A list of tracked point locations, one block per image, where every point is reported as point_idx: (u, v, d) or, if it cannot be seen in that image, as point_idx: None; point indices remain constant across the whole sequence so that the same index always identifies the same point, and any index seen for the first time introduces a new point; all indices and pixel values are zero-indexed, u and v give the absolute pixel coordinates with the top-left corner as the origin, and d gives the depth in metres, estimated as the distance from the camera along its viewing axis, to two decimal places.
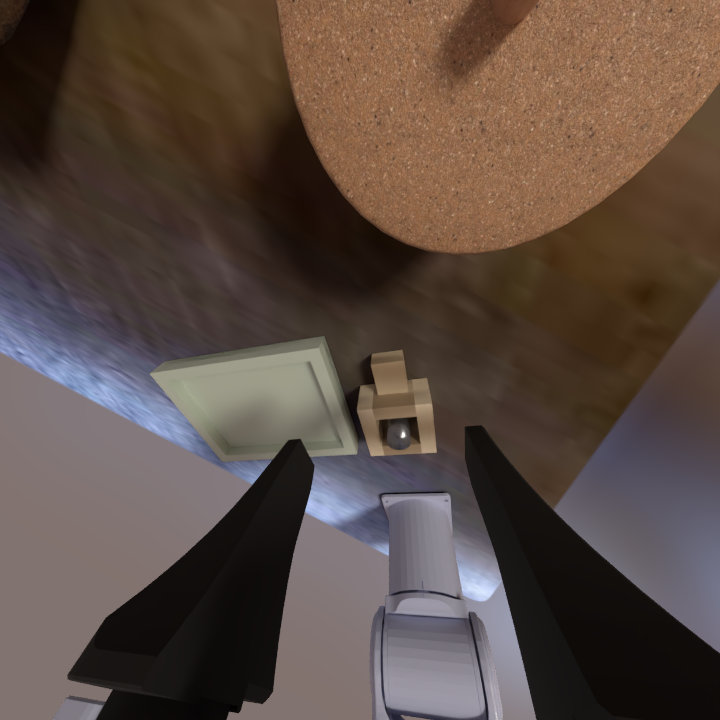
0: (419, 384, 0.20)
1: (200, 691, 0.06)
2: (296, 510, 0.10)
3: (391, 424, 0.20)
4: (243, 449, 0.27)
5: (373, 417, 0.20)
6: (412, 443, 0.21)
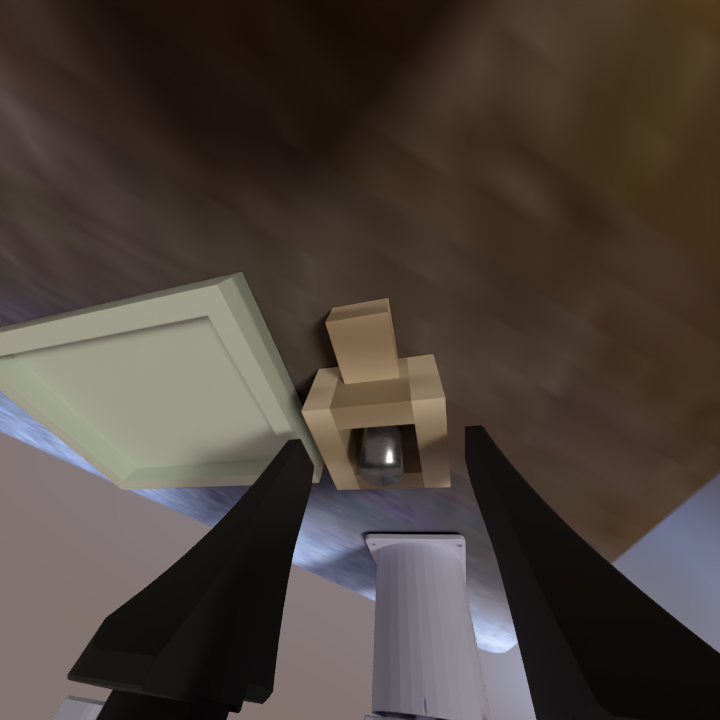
0: (419, 364, 0.11)
1: (200, 691, 0.06)
2: (295, 510, 0.10)
3: (368, 437, 0.11)
4: (151, 471, 0.17)
5: (334, 424, 0.10)
6: (407, 471, 0.12)
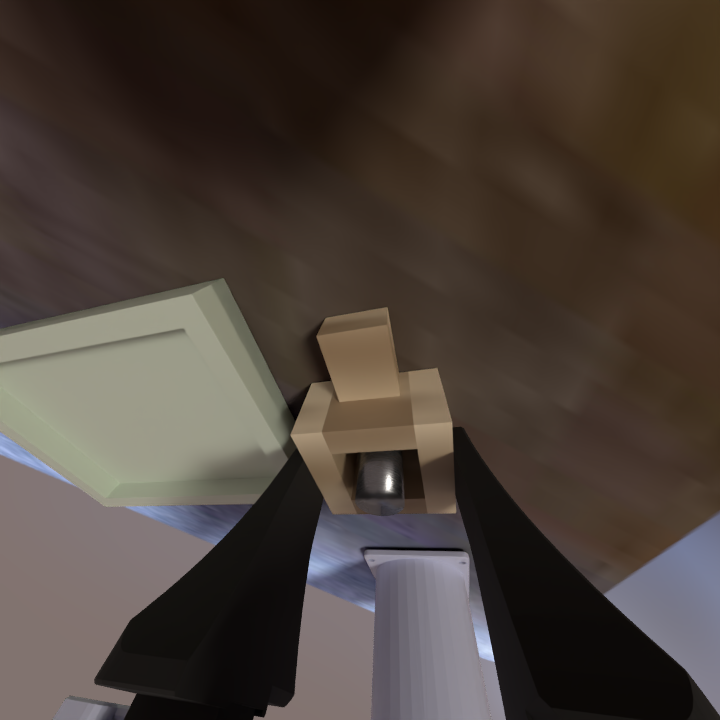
0: (422, 379, 0.10)
1: (228, 695, 0.05)
2: (312, 510, 0.10)
3: (365, 461, 0.10)
4: (135, 488, 0.16)
5: (327, 448, 0.09)
6: (409, 496, 0.11)
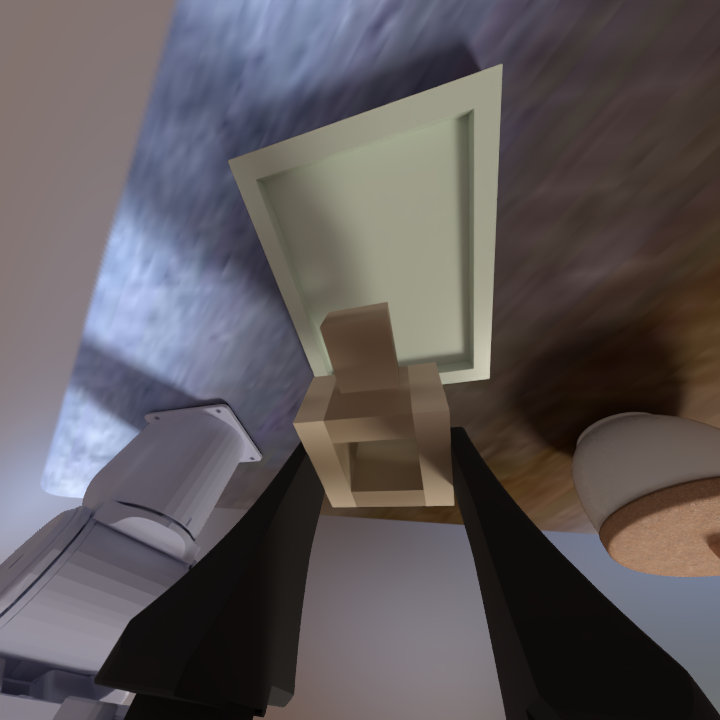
0: (421, 372, 0.10)
1: (228, 695, 0.05)
2: (312, 510, 0.10)
3: None
4: (275, 219, 0.14)
5: (328, 437, 0.10)
6: (408, 488, 0.11)
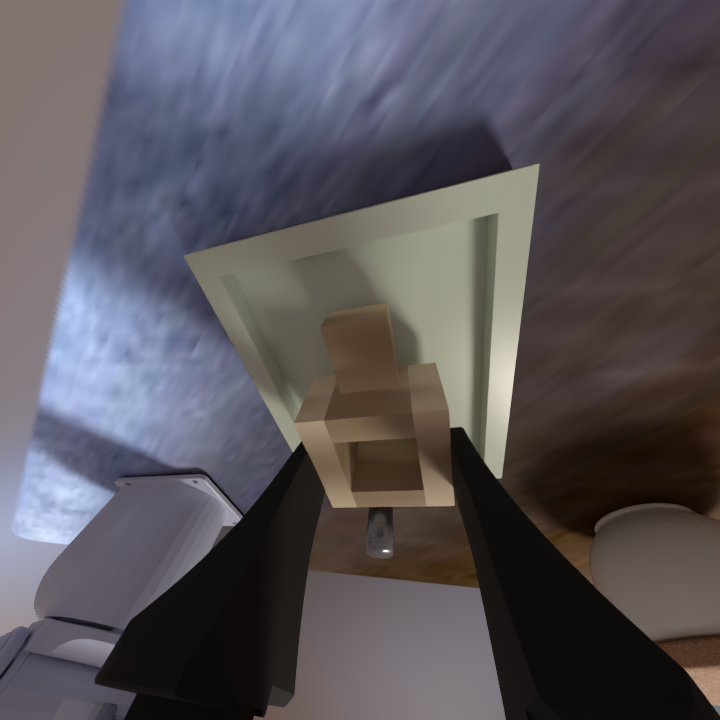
0: (421, 372, 0.10)
1: (228, 695, 0.05)
2: (312, 509, 0.10)
3: (389, 529, 0.18)
4: (248, 313, 0.11)
5: (328, 437, 0.10)
6: (408, 488, 0.11)
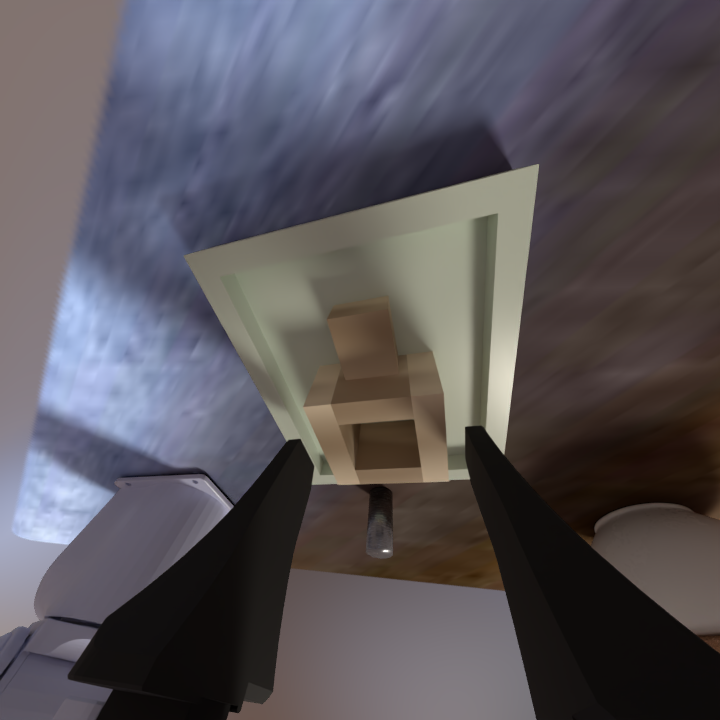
0: (419, 360, 0.11)
1: (200, 691, 0.06)
2: (295, 510, 0.10)
3: (389, 529, 0.18)
4: (248, 313, 0.11)
5: (335, 420, 0.11)
6: (407, 465, 0.12)
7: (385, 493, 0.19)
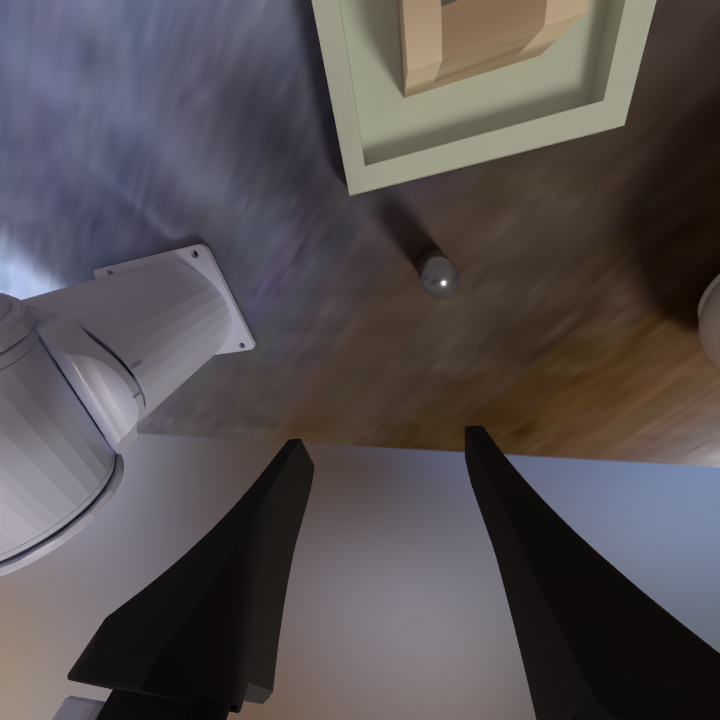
0: None
1: (200, 691, 0.06)
2: (295, 510, 0.10)
3: None
4: None
5: None
6: None
7: (438, 249, 0.15)
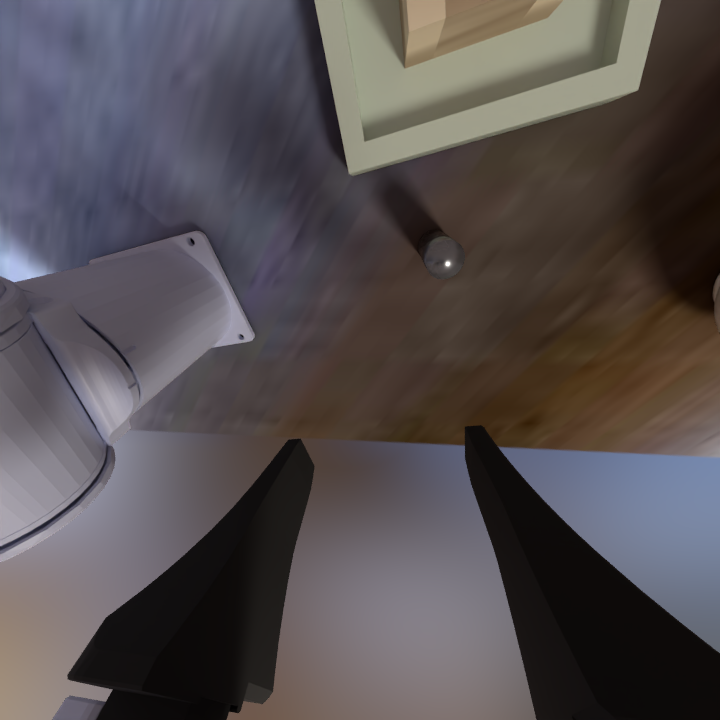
0: None
1: (200, 691, 0.06)
2: (295, 510, 0.10)
3: None
4: None
5: None
6: None
7: None
